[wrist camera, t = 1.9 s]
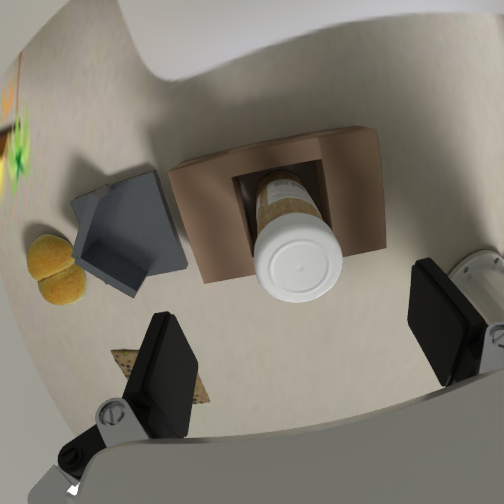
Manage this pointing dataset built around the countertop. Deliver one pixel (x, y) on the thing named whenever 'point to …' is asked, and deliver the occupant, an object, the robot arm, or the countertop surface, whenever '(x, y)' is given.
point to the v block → (127, 233)
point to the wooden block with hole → (271, 156)
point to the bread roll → (56, 270)
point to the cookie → (128, 359)
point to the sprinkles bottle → (293, 241)
